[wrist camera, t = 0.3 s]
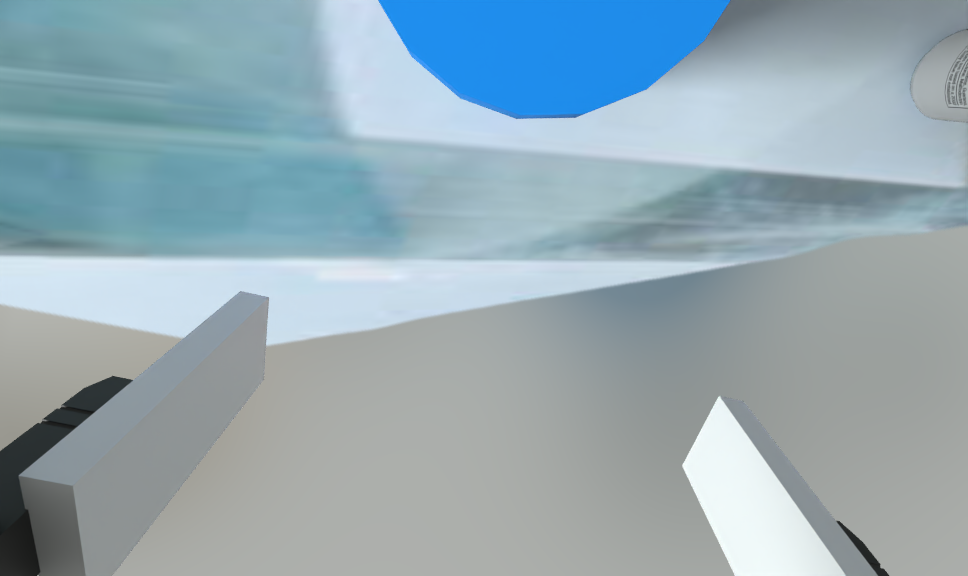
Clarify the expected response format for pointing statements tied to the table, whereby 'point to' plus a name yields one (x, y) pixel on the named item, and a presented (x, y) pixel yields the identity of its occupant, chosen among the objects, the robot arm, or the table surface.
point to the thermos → (550, 48)
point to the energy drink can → (943, 80)
